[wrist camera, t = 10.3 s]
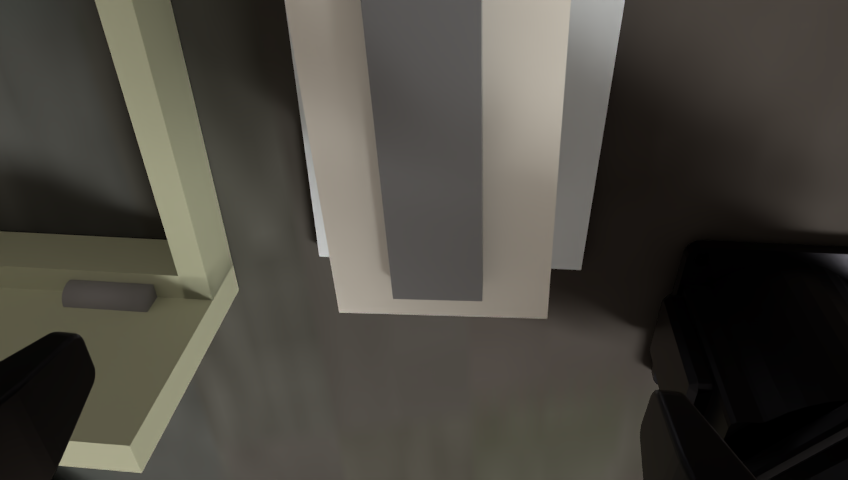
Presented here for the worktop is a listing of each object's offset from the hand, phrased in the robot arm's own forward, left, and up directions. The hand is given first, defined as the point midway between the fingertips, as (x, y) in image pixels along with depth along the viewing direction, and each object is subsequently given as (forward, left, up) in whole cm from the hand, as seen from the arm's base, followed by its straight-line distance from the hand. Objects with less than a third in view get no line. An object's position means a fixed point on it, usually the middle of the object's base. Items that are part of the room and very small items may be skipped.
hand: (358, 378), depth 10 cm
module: (-1, -3, -11) cm, 11 cm away
